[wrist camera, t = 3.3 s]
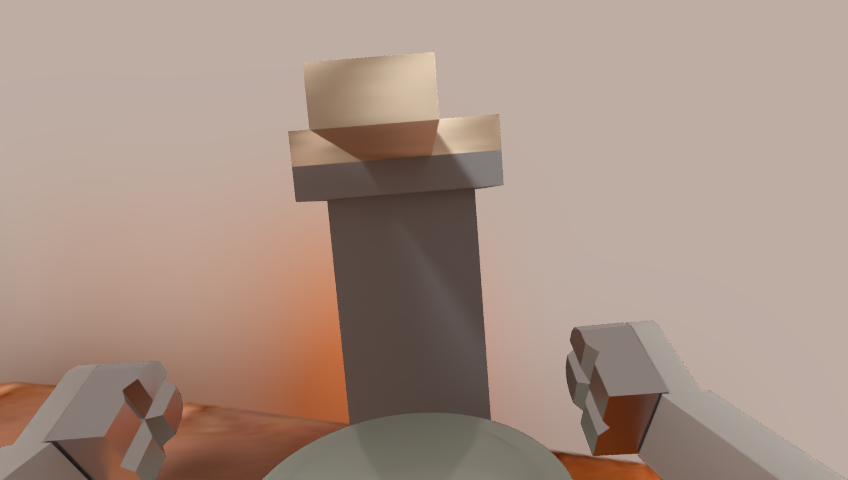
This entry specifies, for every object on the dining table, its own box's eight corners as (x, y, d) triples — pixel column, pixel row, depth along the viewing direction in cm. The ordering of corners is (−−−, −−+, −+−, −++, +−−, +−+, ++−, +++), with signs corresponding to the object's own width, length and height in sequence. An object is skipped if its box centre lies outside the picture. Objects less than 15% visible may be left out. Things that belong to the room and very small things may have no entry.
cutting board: (179, 140, 14) (170, 73, 14) (333, 176, 38) (330, 152, 38) (569, 108, 14) (566, 41, 14) (476, 164, 38) (474, 140, 38)
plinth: (343, 643, 29) (292, 166, 26) (366, 511, 41) (333, 176, 38) (531, 628, 29) (501, 149, 26) (499, 501, 41) (476, 164, 38)
